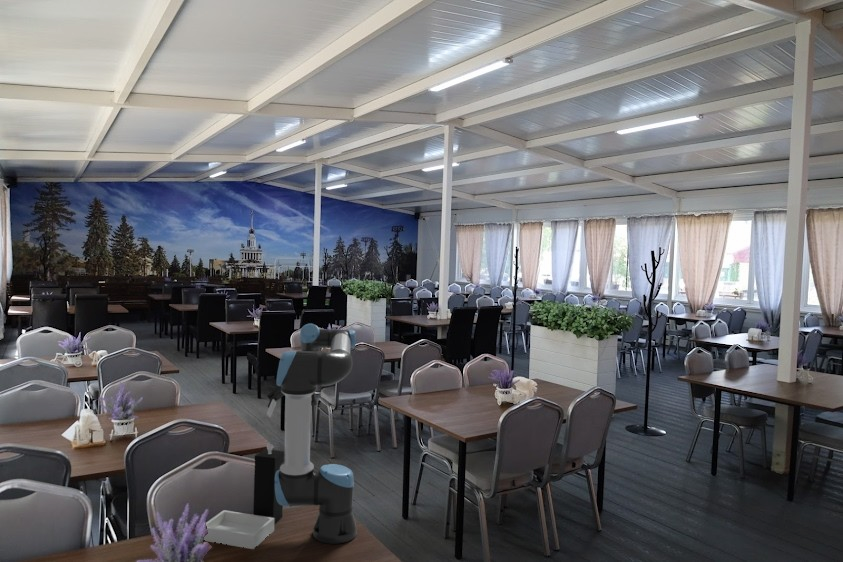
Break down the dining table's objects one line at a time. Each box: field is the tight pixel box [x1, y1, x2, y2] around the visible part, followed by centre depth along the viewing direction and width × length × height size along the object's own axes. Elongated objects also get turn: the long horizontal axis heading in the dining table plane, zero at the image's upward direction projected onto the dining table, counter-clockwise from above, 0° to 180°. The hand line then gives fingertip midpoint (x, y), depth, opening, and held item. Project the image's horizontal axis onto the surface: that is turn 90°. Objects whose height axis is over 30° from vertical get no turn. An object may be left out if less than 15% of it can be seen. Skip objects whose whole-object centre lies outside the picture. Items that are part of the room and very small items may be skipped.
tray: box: [204, 509, 275, 550], centre depth 203 cm, size 20×14×4 cm
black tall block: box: [252, 443, 285, 526], centre depth 215 cm, size 8×8×28 cm
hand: (284, 417), depth 225 cm, fingers open, 13 cm apart
